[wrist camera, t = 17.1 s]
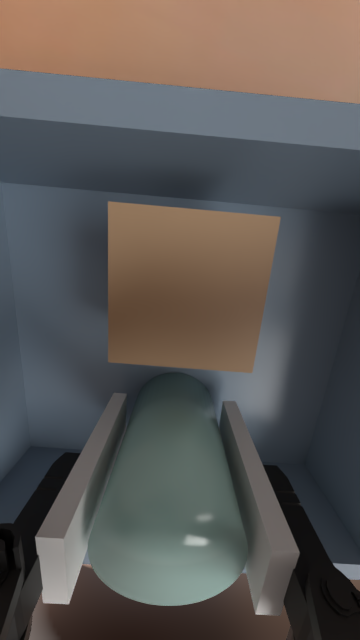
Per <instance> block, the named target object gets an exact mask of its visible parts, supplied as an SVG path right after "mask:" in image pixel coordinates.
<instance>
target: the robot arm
mask: <svg viewBox="0 0 360 640" xmlns="http://www.w3.org/2000/svg"><path fill="white" fill-rule="evenodd" d="M126 414H127V394H125V393H113V395H112V397H111V399H110V401H109V403H108V404H107V406H106V408H105V410H104V412H103V414H102V415H101V417H100V419H99V421H98V423H97V425H96V426H95V428H94V430H93V432H92V434H91V436H90V437H89V439H88V441H87V443H86V445H85V447H84V448H83V450H82V452H81V453H71V452H65V453H64V454H63V455H62V456H60V457H59V458H58V459H57V460H56V461H55V462H54V463H53V464H52V465H51V467H50V468H49V470H48V472H47V473H46V475H45V476H44V479H42V481H41V482H40V484H39V485H38V487H37V489H36V490H35V491H34V493H33V494H32V496H31V497H30V499H29V500H28V502H27V503H26V505H25V506H24V508H23V509H22V511H21V512H20V514H19V515H18V517H17V518H16V520H15V521H14V523H13V524H12V523H1V524H0V640H28V639H29V636H30V632H31V625H32V613H33V611H34V608H35V606H36V604H37V601H38V599H39V597H40V594H41V592H42V598H43V602H44V603H55V604H69V602H70V599H71V596H72V593H73V590H74V587H75V584H76V581H77V578H78V575H79V572H80V569H81V566H82V563H83V560H84V557H85V554H86V551H87V548H88V540H89V536H90V533H91V530H92V527H93V524H94V521H95V518H96V515H97V513H98V510H99V507H100V504H101V501H102V498H103V495H104V492H105V489H106V486H107V483H108V480H109V477H110V475H111V472H112V469H113V466H114V463H115V460H116V457H117V454H118V451H119V448H120V445H121V442H122V439H123V437H124V434H125V431H126ZM219 430H220V434H221V438H222V442H223V446H224V450H225V454H226V458H227V462H228V466H229V470H230V474H231V478H232V482H233V486H234V490H235V494H236V498H237V503H238V507H239V511H240V515H241V519H242V523H243V527H244V531H245V535H246V539H247V543H248V557H247V561H246V565H245V569H246V573H247V578H248V582H249V587H250V592H251V596H252V601H253V605H254V610H255V614H260V615H278V616H280V615H281V611H282V608H283V605H285V608H286V612H287V615H288V618H289V621H290V625H291V626H290V629H289V632H288V635H287V638H286V640H360V591H358V590H357V589H356V588H355V587H354V585H353V584H352V583H351V582H350V580H349V579H348V578H347V577H346V576H345V575H344V574H343V573H342V572H341V571H340V570H338V569H337V568H336V567H335V566H334V565H333V563H332V561H331V560H330V558H329V556H328V555H327V553H326V551H325V549H324V547H323V545H322V543H321V541H320V539H319V537H318V535H317V533H316V531H315V530H314V528H313V526H312V524H311V522H310V520H309V518H308V516H307V514H306V512H305V510H304V508H303V506H301V503H300V501H299V499H298V497H297V495H296V494H295V491H294V489H293V487H292V485H291V483H290V481H289V479H288V477H287V476H286V475H285V474H284V473H283V472H282V471H281V470H280V468H279V467H278V466H277V465H262V462H261V460H260V458H259V455H258V453H257V450H256V448H255V446H254V443H253V441H252V439H251V436H250V434H249V432H248V429H247V427H246V424H245V422H244V420H243V417H242V415H241V413H240V410H239V408H238V406H237V403H236V401H223V403H222V410H221V417H220V424H219Z"/></svg>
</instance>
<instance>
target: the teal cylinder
mask: <svg viewBox="0 0 360 640" xmlns="http://www.w3.org/2000/svg"><path fill="white" fill-rule="evenodd" d="M88 557H89V560H90V564H91V566H92V568H93V570H94V571H95V573H96V574H97V576H98V577H99V578H100V579H101V580H102V581H103V582H104V583H105V584H106V585H107V586H109V587H110V588H111V589H112V590H114V591H116V592H117V593H119V594H121V595H123V596H125V597H127V598H130V599H133V600H136V601H139V602H143V603H148V604H153V605H162V606H163V605H164V606H165V605H166V606H175V605H185V604H191V603H195V602H199V601H203V600H205V599H208V598H211V597H213V596H215V595H217V594H219V593H220V592H222V591H224V590H225V589H226V588H228V587H229V586H230V585H232V583H233V582H234V581H235V580H236V579H237V578H238V577H239V575H240V574H241V573H242V571H243V569H244V567H245V565H246V561H247V557H248V543H247V539H246V535H245V531H244V527H243V523H242V519H241V515H240V511H239V507H238V503H237V498H236V494H235V490H234V486H233V482H232V478H231V474H230V470H229V466H228V462H227V458H226V454H225V450H224V446H223V442H222V438H221V434H220V430H219V426H218V422H217V418H216V413H215V409H214V405H213V401H212V397H211V395H210V393H209V391H208V389H207V388H206V387H205V385H204V384H203V383H202V382H200V381H199V380H198V379H196V378H194V377H192V376H190V375H187V374H183V373H165V374H161V375H158V376H156V377H154V378H152V379H151V380H149V381H148V382H147V383H146V384H145V385H144V386H143V387H142V388H141V390H140V391H139V393H138V396H137V399H136V401H135V404H134V407H133V410H132V413H131V416H130V419H129V422H128V425H127V428H126V431H125V434H124V437H123V439H122V442H121V445H120V448H119V451H118V454H117V457H116V460H115V463H114V466H113V469H112V472H111V475H110V477H109V480H108V483H107V486H106V489H105V492H104V495H103V498H102V501H101V504H100V507H99V510H98V513H97V515H96V518H95V521H94V524H93V527H92V530H91V533H90V536H89V540H88Z"/></svg>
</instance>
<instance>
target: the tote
mask: <svg viewBox="0 0 360 640" xmlns="http://www.w3.org/2000/svg"><path fill="white" fill-rule="evenodd" d="M108 201H110V202H121V203H132V204H143V205H154V206H166V207H177V208H188V209H199V210H210V211H221V212H232V213H243V214H255V215H266V216H277V217H281V219H280V224H279V230H278V235H277V241H276V246H275V252H274V257H273V263H272V268H271V274H270V279H269V285H268V290H267V296H266V301H265V307H264V312H263V318H262V323H261V329H260V334H259V340H258V345H257V350H256V356H255V361H254V367H253V372H252V373H243V372H230V371H217V370H204V369H191V368H177V367H164V366H151V365H138V364H124V363H111V362H108ZM165 373H183V374H187V375H190V376H192V377H194V378H196V379H198V380H199V381H200V382H202V383H203V384H204V385H205V387H206V388H207V389H208V391H209V393H210V395H211V397H212V401H213V405H214V409H215V413H216V418H217V422H218V426H219V424H220V417H221V410H222V403H223V401H236V403H237V406H238V408H239V410H240V413H241V415H242V417H243V420H244V422H245V424H246V427H247V429H248V432H249V434H250V436H251V439H252V441H253V443H254V446H255V448H256V450H257V453H258V455H259V458H260V460H261V462H262V465H277V466H278V467H279V468H280V470H281V471H282V472H283V473H284V474H285V475H286V476H287V477H288V479H289V481H290V483H291V485H292V487H293V489H294V491H295V494H296V495H297V497H298V499H299V501H300V503H301V506H303V508H304V510H305V512H306V514H307V516H308V518H309V520H310V522H311V524H312V526H313V528H314V530H315V531H316V533H317V535H318V537H319V539H320V541H321V543H322V545H323V547H324V549H325V551H326V553H327V555H328V556H329V558H330V560H331V561H332V563H333V565H334V566H335V567H336V568H337V569H338V570H340V571H341V572H342V573H343V574H344V575H345V576H346V577H347V578H348V579H356V580H360V104H354V103H344V102H334V101H324V100H314V99H304V98H294V97H283V96H273V95H263V94H253V93H243V92H233V91H223V90H213V89H202V88H192V87H182V86H172V85H162V84H152V83H142V82H132V81H121V80H111V79H101V78H91V77H81V76H71V75H61V74H51V73H40V72H30V71H20V70H10V69H0V524H1V523H12V524H13V523H14V521H15V520H16V518H17V517H18V515H19V514H20V512H21V511H22V509H23V508H24V506H25V505H26V503H27V502H28V500H29V499H30V497H31V496H32V494H33V493H34V491H35V490H36V489H37V487H38V485H39V484H40V482H41V481H42V479H44V476H45V475H46V473H47V472H48V470H49V468H50V467H51V465H52V464H53V463H54V462H55V461H56V460H57V459H58V458H59V457H60V456H62V455H63V454H64V453H65V452H71V453H81V452H82V450H83V448H84V447H85V445H86V443H87V441H88V439H89V437H90V436H91V434H92V432H93V430H94V428H95V426H96V425H97V423H98V421H99V419H100V417H101V415H102V414H103V412H104V410H105V408H106V406H107V404H108V403H109V401H110V399H111V397H112V395H113V393H125V394H127V414H126V428H127V425H128V422H129V419H130V416H131V413H132V410H133V407H134V404H135V401H136V399H137V396H138V393H139V391H140V390H141V388H142V387H143V386H144V385H145V384H146V383H147V382H148V381H149V380H151V379H152V378H154V377H156V376H158V375H161V374H165ZM82 564H90V560H89V557H88V548H87V551H86V554H85V557H84V560H83V563H82ZM242 573H246V569H245V567H244V569H243V571H242Z"/></svg>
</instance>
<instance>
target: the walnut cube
mask: <svg viewBox="0 0 360 640" xmlns="http://www.w3.org/2000/svg"><path fill="white" fill-rule="evenodd" d="M280 219H281V217H277V216H266V215H255V214H243V213H232V212H221V211H210V210H199V209H188V208H177V207H166V206H154V205H143V204H132V203H121V202H110V201H108V362H111V363H124V364H138V365H151V366H164V367H177V368H191V369H204V370H217V371H230V372H243V373H252V372H253V367H254V361H255V356H256V350H257V345H258V340H259V334H260V329H261V323H262V318H263V312H264V307H265V301H266V296H267V290H268V285H269V279H270V274H271V268H272V263H273V257H274V252H275V246H276V241H277V235H278V230H279V224H280Z"/></svg>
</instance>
